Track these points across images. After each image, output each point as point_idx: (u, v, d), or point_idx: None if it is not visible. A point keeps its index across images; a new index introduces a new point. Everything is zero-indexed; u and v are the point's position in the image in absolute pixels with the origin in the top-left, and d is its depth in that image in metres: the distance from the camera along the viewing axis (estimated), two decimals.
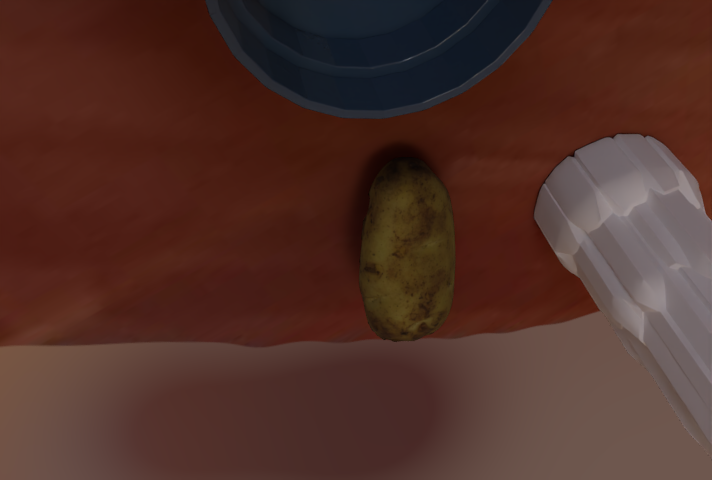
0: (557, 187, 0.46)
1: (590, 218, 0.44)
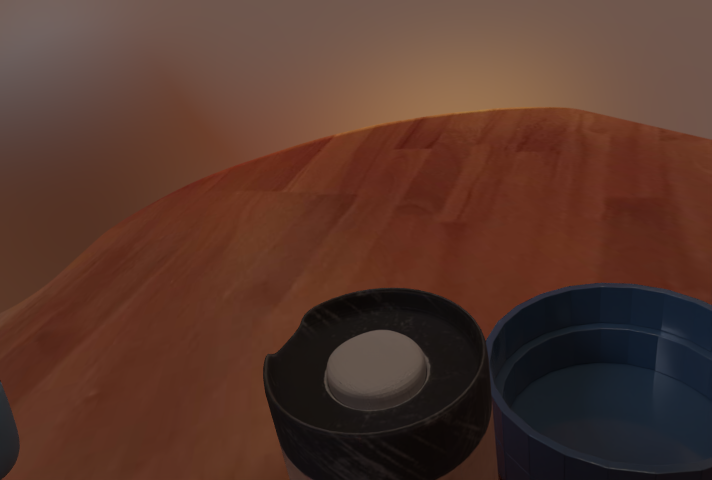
0: None
1: None
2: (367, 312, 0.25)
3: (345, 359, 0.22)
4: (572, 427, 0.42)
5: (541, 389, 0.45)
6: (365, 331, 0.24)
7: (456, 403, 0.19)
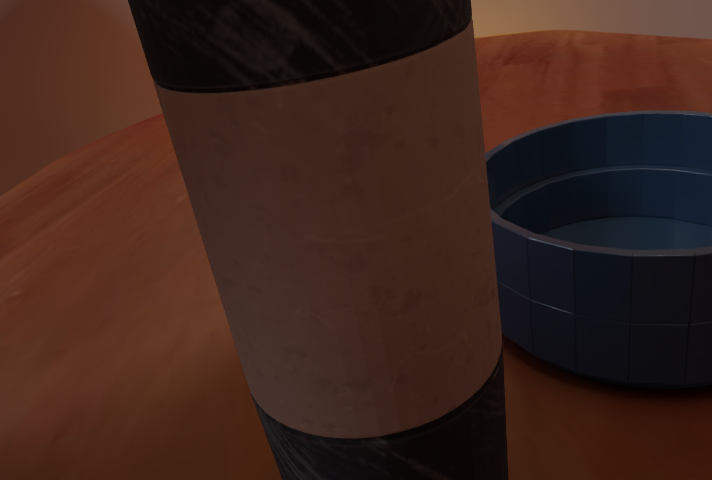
0: None
1: None
2: None
3: None
4: None
5: None
6: None
7: None
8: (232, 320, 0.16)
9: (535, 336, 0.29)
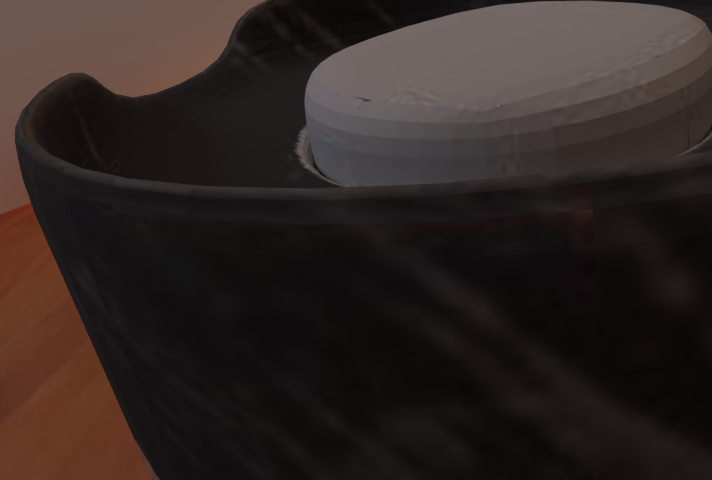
0: None
1: None
2: None
3: (378, 52, 0.05)
4: None
5: None
6: None
7: None
8: None
9: None
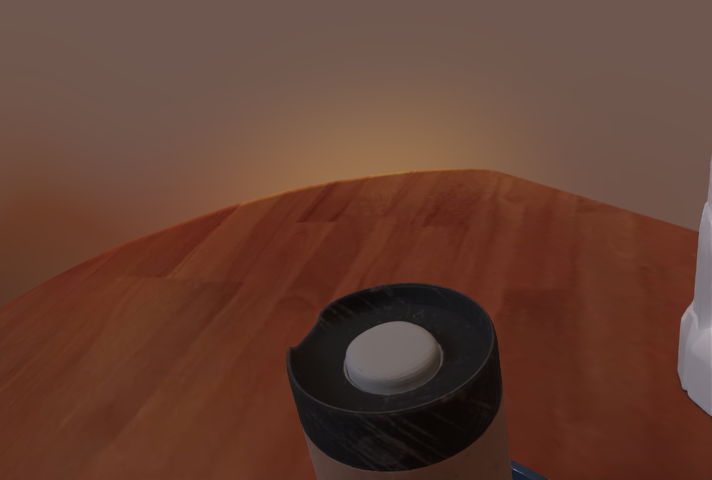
0: None
1: None
2: (380, 307, 0.26)
3: (363, 349, 0.23)
4: None
5: None
6: (379, 324, 0.25)
7: (470, 382, 0.20)
8: None
9: None
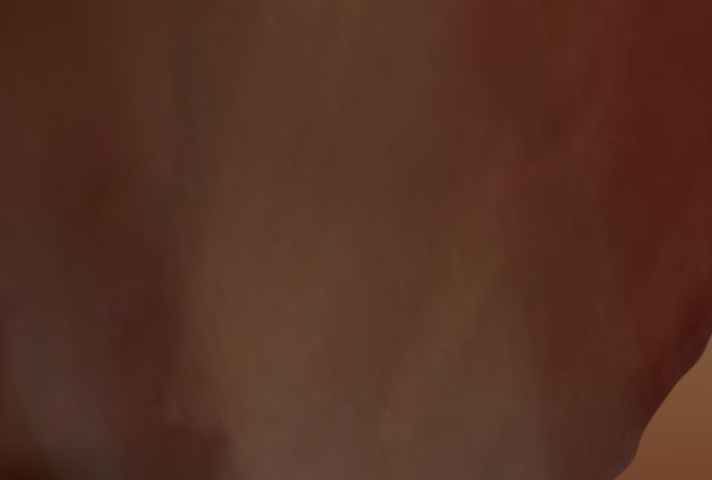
0: None
1: None
2: None
3: None
4: None
5: None
6: None
7: None
8: None
9: None
